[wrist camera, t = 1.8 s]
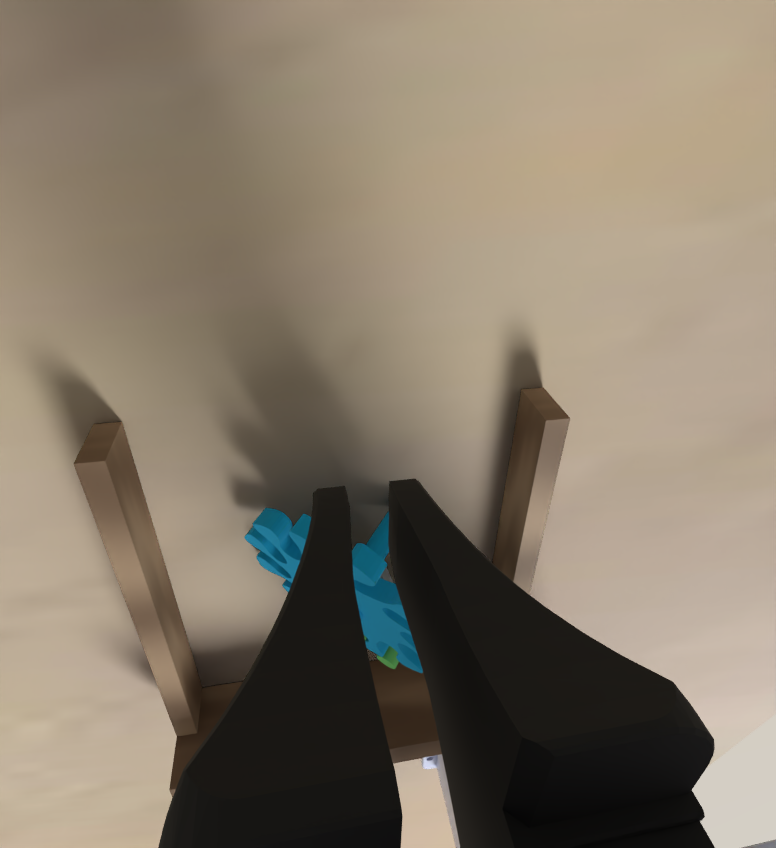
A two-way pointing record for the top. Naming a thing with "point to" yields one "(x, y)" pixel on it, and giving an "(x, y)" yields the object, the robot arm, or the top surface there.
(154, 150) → the top surface
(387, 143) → the top surface
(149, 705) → the top surface
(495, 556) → the wooden u-shaped frame
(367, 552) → the gear
